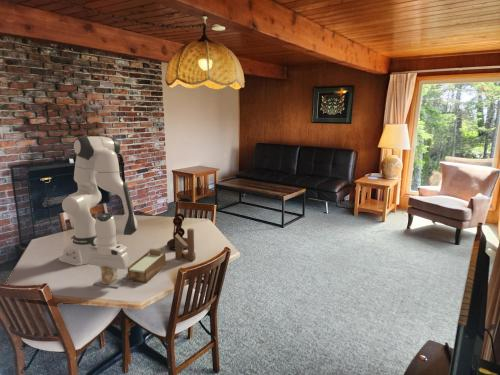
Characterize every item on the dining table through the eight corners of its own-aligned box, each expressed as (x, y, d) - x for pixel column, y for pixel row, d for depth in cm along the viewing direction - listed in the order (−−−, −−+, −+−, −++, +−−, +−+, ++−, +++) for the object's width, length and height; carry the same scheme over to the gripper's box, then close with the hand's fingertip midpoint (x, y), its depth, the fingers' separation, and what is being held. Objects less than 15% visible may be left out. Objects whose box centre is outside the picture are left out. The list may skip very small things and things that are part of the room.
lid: (129, 270, 169) (128, 263, 168) (150, 254, 188) (149, 247, 187) (144, 272, 167) (144, 265, 167) (163, 256, 186) (163, 249, 185)
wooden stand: (177, 256, 198) (176, 226, 194) (195, 258, 196) (195, 228, 192) (175, 259, 195) (174, 229, 190) (193, 261, 192) (192, 230, 188)
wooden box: (128, 280, 171) (127, 267, 169) (149, 263, 190) (148, 251, 188) (146, 282, 168) (146, 270, 167) (165, 265, 187) (165, 253, 186)
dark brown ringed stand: (170, 241, 220) (168, 211, 215) (193, 241, 220) (192, 211, 216) (164, 250, 206) (163, 218, 201) (189, 251, 206) (188, 219, 201)
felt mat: (93, 284, 166) (93, 283, 166) (102, 277, 173) (102, 276, 173) (117, 288, 163) (117, 287, 163) (126, 281, 170) (126, 280, 170)
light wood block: (102, 283, 165) (100, 268, 163) (111, 276, 172) (110, 261, 170) (108, 284, 164) (107, 268, 162) (117, 277, 171) (116, 262, 169)
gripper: (83, 248, 163) (86, 274, 166) (122, 252, 159) (124, 280, 162) (92, 243, 169) (95, 269, 172) (130, 247, 165) (132, 274, 168)
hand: (109, 274), depth 167 cm, fingers closed on light wood block, 3 cm apart
